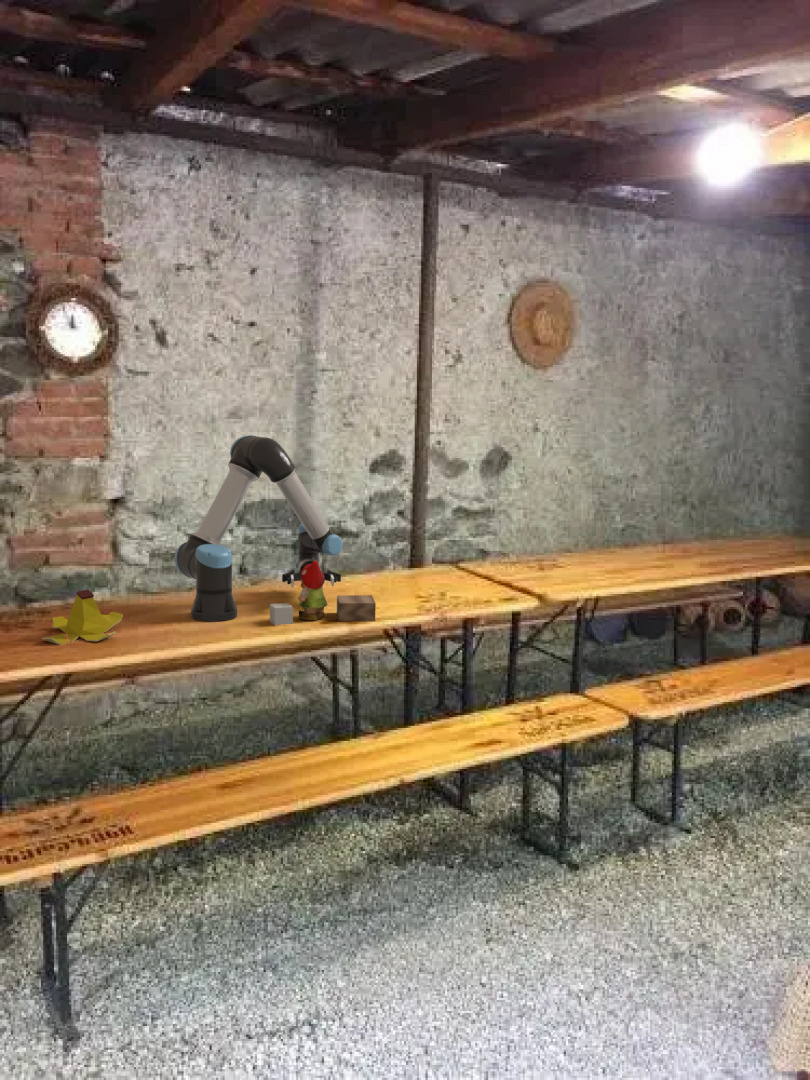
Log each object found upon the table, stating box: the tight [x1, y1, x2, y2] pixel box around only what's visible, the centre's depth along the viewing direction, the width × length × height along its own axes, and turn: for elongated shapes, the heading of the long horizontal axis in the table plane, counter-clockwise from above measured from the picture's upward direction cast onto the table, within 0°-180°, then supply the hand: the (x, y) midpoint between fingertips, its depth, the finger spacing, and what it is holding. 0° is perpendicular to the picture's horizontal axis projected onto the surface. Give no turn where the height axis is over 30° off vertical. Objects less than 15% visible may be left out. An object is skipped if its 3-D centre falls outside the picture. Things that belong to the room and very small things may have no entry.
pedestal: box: [336, 594, 377, 622], centre depth 330 cm, size 12×12×6 cm
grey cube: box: [269, 602, 294, 626], centre depth 318 cm, size 6×6×6 cm
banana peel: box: [41, 589, 124, 646], centre depth 297 cm, size 25×27×15 cm
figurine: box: [297, 561, 328, 621], centre depth 324 cm, size 11×9×20 cm
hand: (312, 582), depth 330 cm, fingers open, 13 cm apart
